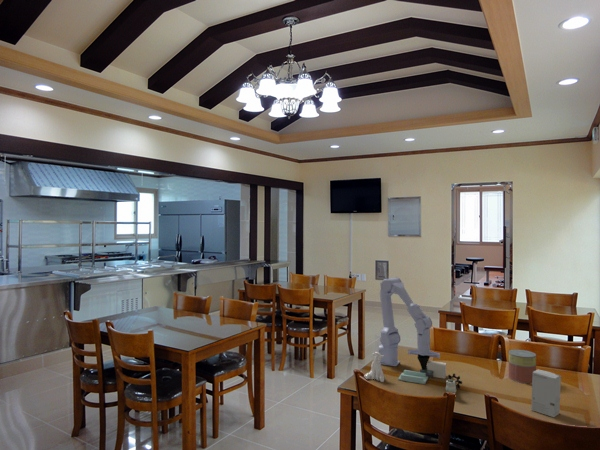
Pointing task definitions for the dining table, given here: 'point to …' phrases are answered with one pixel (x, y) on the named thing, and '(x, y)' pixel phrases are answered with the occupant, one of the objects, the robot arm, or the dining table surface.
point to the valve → (452, 383)
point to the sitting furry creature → (376, 368)
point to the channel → (427, 372)
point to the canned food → (521, 365)
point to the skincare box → (546, 393)
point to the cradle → (413, 377)
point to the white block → (437, 369)
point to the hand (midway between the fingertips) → (423, 370)
